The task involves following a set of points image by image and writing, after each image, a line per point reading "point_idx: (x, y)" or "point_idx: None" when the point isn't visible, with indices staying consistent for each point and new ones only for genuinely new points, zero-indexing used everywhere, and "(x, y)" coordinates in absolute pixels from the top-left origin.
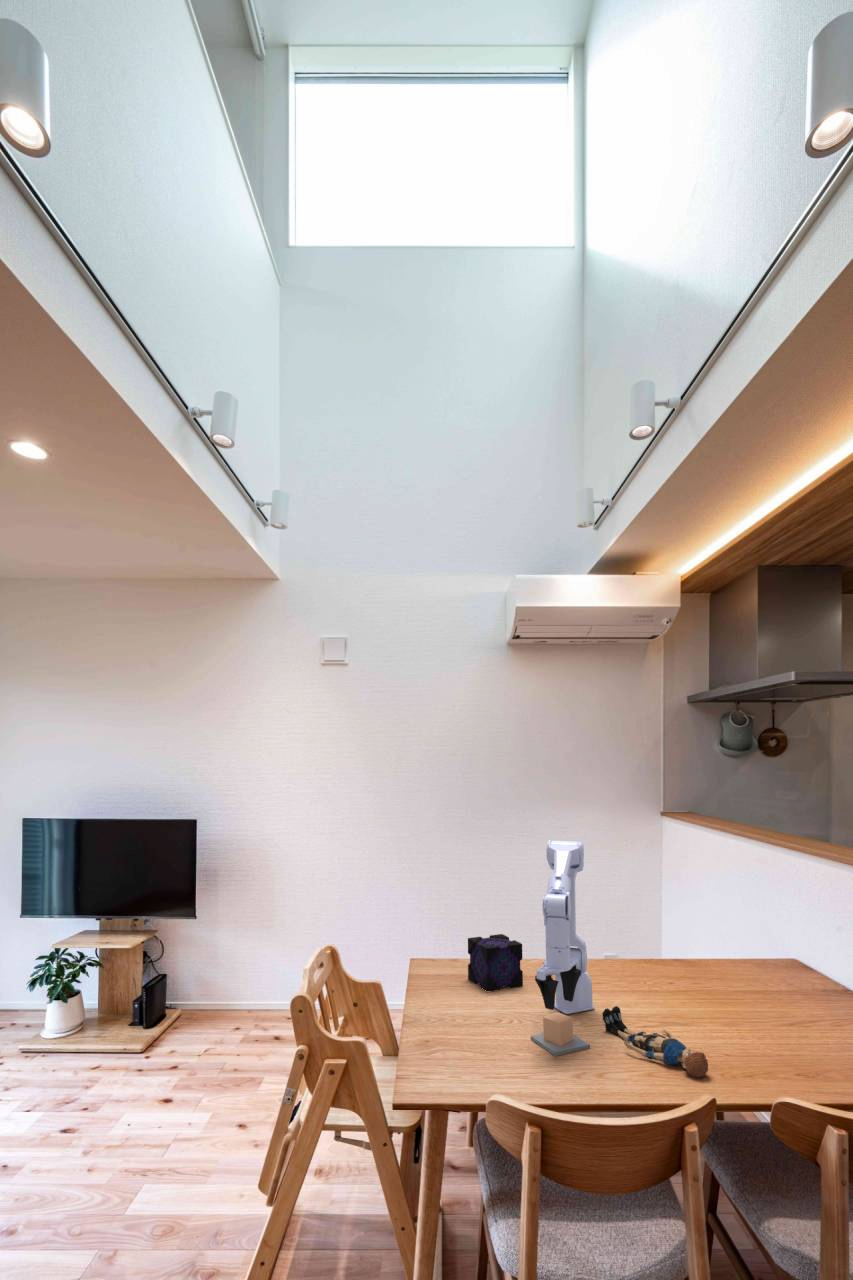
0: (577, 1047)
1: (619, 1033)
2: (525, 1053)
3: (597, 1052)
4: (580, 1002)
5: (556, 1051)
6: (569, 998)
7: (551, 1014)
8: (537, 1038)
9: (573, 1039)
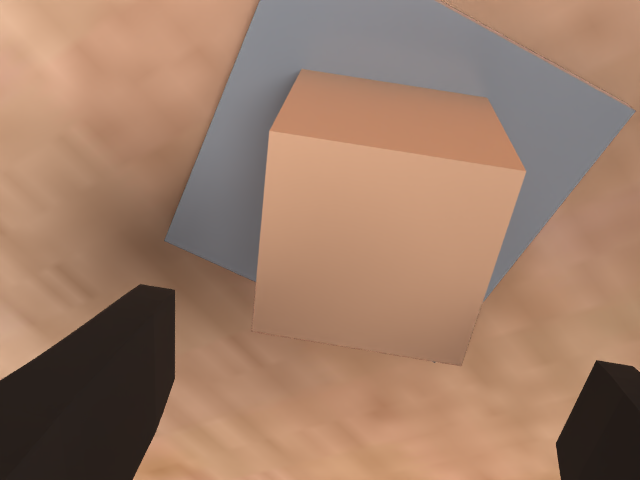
0: None
1: None
2: (42, 40)
3: (399, 393)
4: None
5: (181, 244)
6: (574, 455)
7: (411, 169)
8: (281, 12)
9: None
